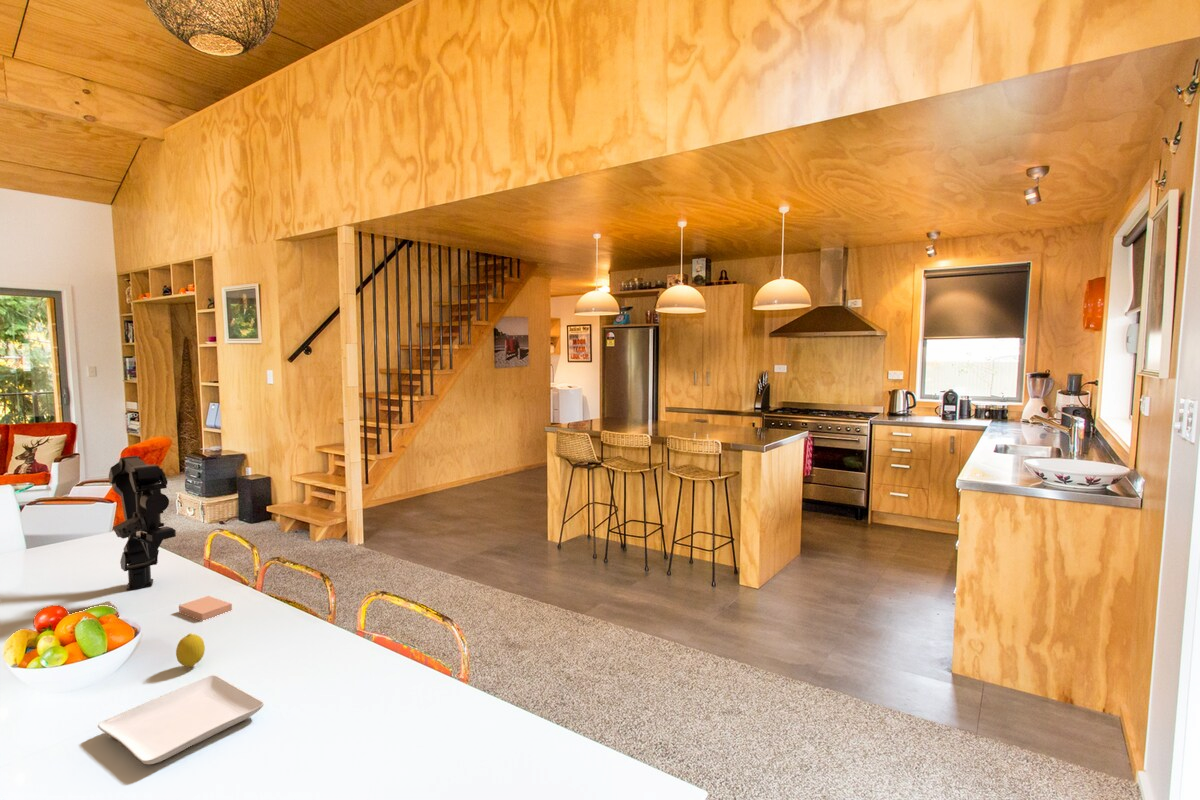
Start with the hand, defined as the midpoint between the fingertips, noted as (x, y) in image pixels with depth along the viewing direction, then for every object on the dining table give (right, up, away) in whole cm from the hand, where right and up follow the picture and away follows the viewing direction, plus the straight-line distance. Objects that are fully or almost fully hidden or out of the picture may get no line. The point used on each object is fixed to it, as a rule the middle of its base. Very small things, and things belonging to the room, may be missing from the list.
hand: (151, 558), depth 183 cm
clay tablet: (-8, -14, -12) cm, 20 cm away
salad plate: (+54, -17, -64) cm, 85 cm away
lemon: (+40, -15, -41) cm, 59 cm away
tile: (+18, -12, -7) cm, 22 cm away
